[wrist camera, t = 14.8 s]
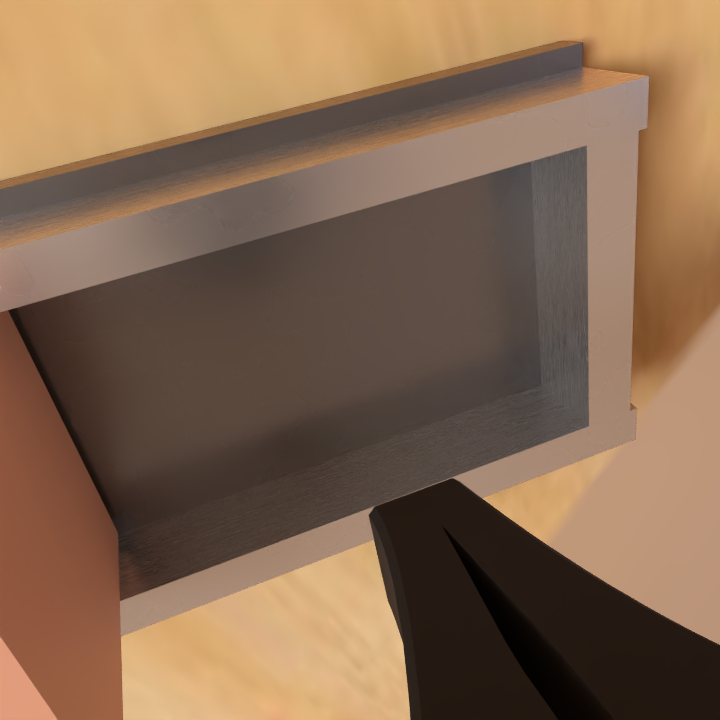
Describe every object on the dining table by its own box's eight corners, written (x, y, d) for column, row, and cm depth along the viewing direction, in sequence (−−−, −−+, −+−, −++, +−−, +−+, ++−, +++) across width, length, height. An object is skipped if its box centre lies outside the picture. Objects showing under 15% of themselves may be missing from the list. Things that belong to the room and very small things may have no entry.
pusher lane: (562, 40, 16) (730, 55, 11) (570, 398, 21) (689, 500, 16) (-593, 328, 11) (-998, 518, 7) (-228, 688, 17) (-341, 922, 12)
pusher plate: (-1, 293, 13) (-82, 519, 7) (117, 533, 16) (125, 818, 11) (-66, 312, 13) (-202, 559, 7) (67, 551, 16) (46, 852, 10)
